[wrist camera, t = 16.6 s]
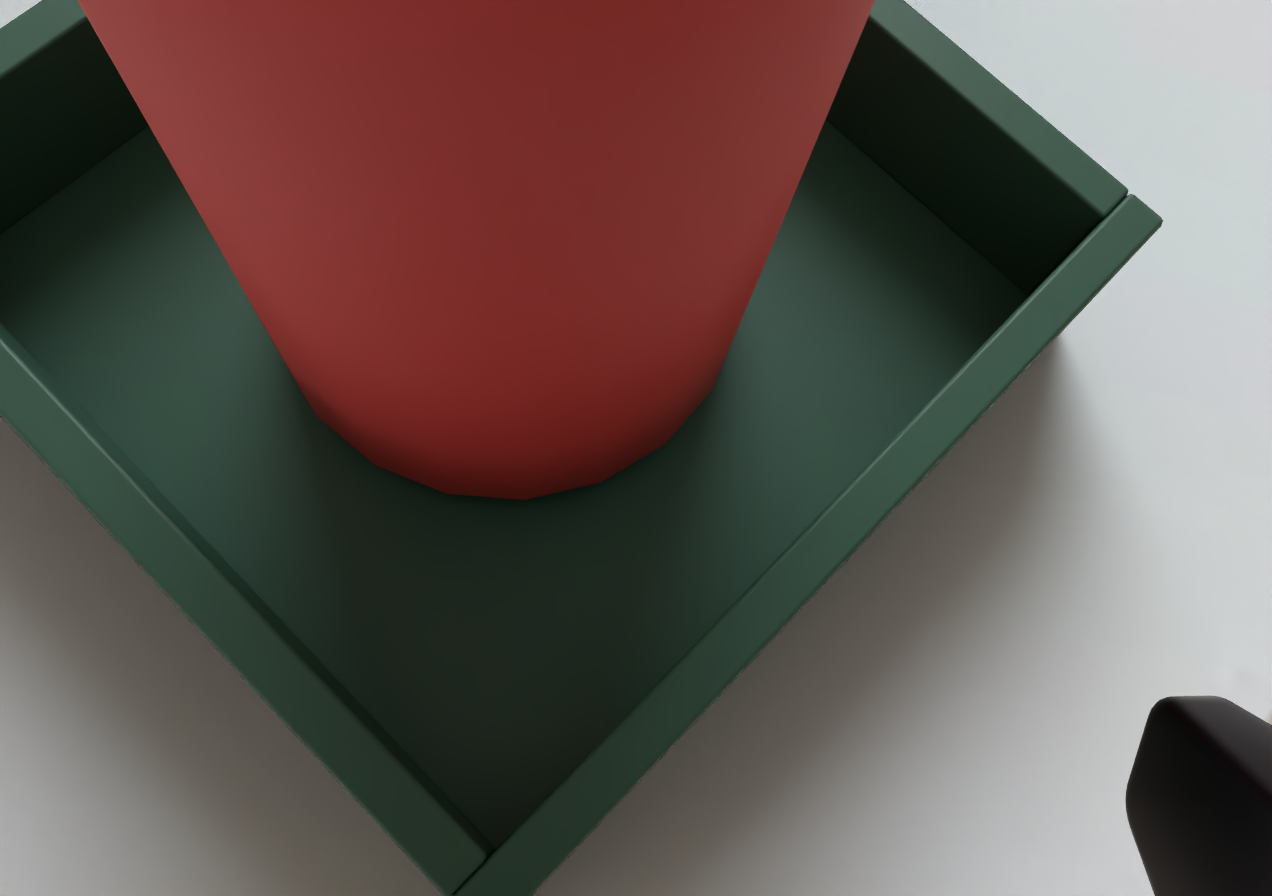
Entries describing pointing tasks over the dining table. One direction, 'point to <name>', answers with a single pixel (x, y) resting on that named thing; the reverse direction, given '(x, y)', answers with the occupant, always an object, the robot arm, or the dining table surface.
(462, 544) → the square green tray
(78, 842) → the dining table surface
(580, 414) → the beer can
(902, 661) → the dining table surface
